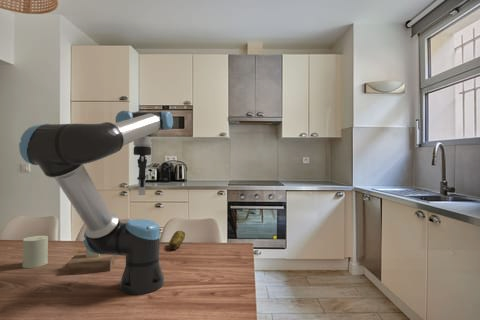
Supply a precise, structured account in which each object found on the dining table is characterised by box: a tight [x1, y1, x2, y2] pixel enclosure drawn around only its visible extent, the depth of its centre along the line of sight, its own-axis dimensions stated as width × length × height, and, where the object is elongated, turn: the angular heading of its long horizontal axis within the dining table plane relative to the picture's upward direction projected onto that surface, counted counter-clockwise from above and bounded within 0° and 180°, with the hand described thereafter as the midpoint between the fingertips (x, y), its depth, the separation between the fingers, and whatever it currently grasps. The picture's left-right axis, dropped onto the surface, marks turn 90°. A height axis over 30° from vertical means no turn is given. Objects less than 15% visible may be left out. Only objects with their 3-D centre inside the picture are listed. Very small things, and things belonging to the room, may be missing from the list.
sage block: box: [85, 247, 100, 258], centre depth 124 cm, size 5×5×8 cm
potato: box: [168, 230, 186, 251], centre depth 152 cm, size 8×13×8 cm, turn 153°
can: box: [21, 235, 49, 269], centre depth 125 cm, size 9×9×12 cm
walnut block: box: [66, 250, 117, 276], centre depth 123 cm, size 16×16×5 cm
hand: (141, 193), depth 128 cm, fingers open, 13 cm apart
